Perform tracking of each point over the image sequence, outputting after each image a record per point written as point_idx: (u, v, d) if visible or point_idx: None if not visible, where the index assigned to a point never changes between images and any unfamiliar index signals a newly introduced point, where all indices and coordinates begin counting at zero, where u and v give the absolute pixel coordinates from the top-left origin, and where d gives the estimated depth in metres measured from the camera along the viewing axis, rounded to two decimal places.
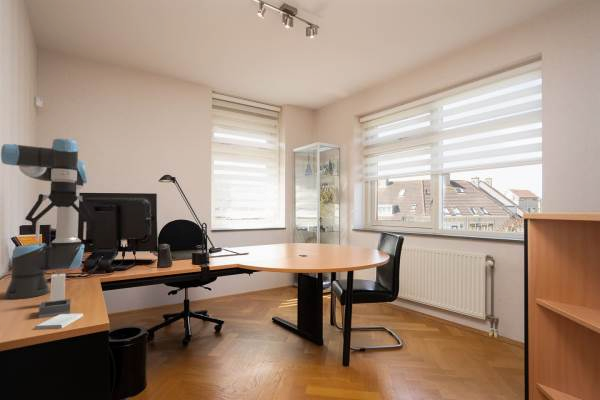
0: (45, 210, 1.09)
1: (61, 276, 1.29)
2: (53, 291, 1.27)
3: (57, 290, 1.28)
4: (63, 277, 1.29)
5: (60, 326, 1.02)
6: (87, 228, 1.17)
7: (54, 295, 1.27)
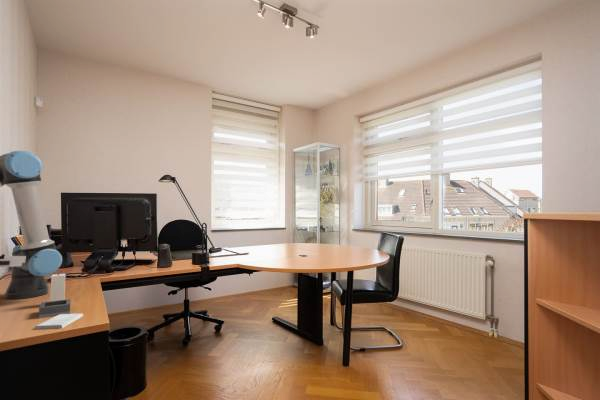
0: None
1: (61, 276, 1.29)
2: (53, 291, 1.27)
3: (57, 290, 1.28)
4: (63, 277, 1.29)
5: (60, 326, 1.02)
6: None
7: (54, 295, 1.27)
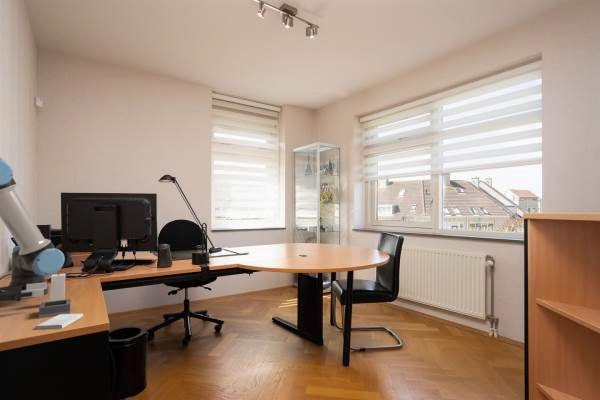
0: None
1: (61, 276, 1.29)
2: (53, 291, 1.27)
3: (57, 290, 1.28)
4: (63, 277, 1.29)
5: (60, 326, 1.02)
6: None
7: (54, 295, 1.27)
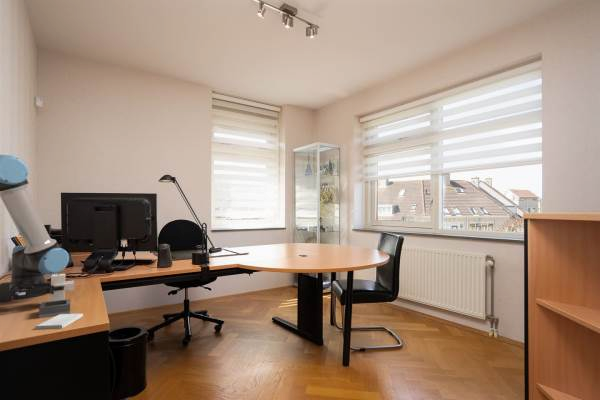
0: None
1: (61, 276, 1.29)
2: None
3: None
4: (63, 277, 1.29)
5: (60, 326, 1.02)
6: None
7: (54, 295, 1.27)
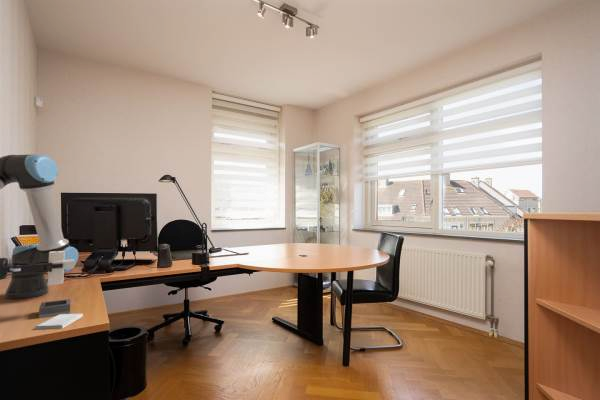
0: None
1: (60, 253, 1.18)
2: None
3: None
4: (62, 254, 1.18)
5: (61, 326, 1.02)
6: None
7: (52, 273, 1.16)
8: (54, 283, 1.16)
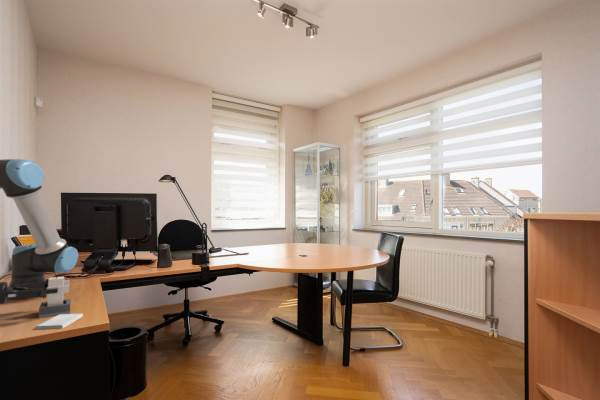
0: None
1: (59, 279, 1.17)
2: (51, 296, 1.16)
3: (54, 295, 1.16)
4: (61, 280, 1.18)
5: (61, 326, 1.02)
6: None
7: (51, 300, 1.16)
8: None
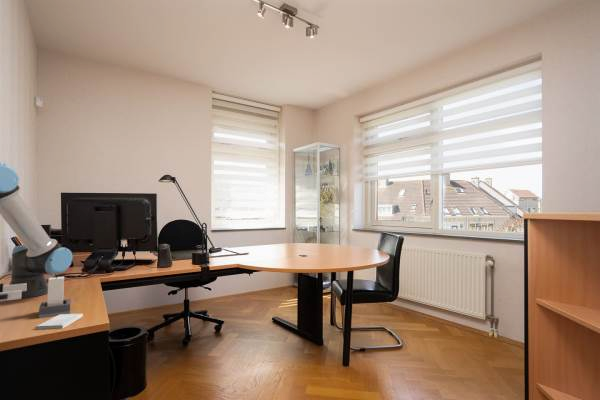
0: None
1: (59, 279, 1.17)
2: (51, 296, 1.16)
3: (54, 295, 1.16)
4: (61, 280, 1.18)
5: (61, 326, 1.02)
6: None
7: (51, 300, 1.16)
8: None
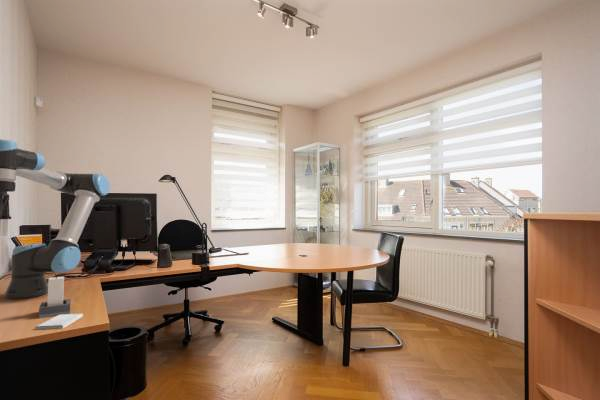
0: None
1: (59, 279, 1.17)
2: (51, 296, 1.16)
3: (54, 295, 1.16)
4: (61, 280, 1.18)
5: (61, 326, 1.02)
6: None
7: (51, 300, 1.16)
8: None
